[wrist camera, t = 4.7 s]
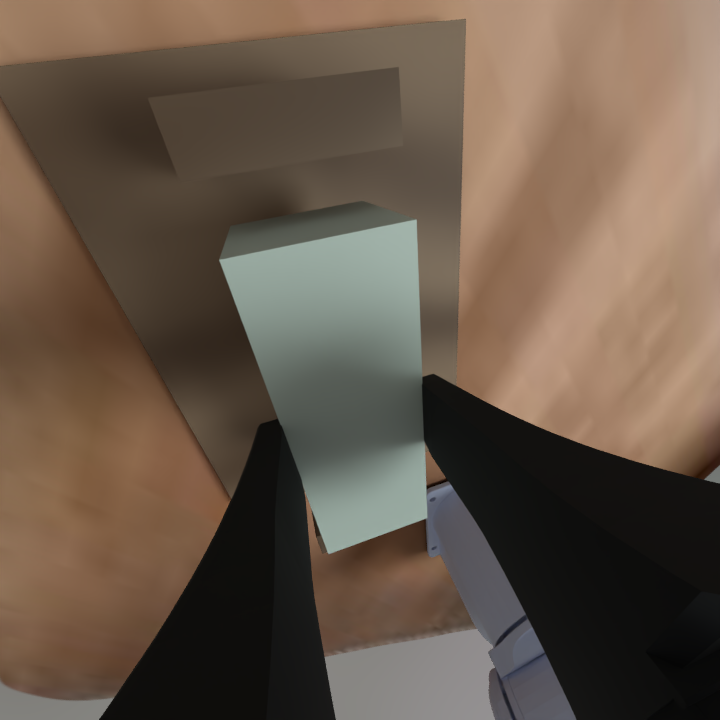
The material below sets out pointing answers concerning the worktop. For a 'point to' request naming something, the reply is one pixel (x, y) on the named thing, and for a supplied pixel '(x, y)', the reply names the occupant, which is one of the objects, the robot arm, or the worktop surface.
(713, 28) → the worktop surface
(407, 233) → the pale green block
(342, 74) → the peg base
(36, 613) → the worktop surface
